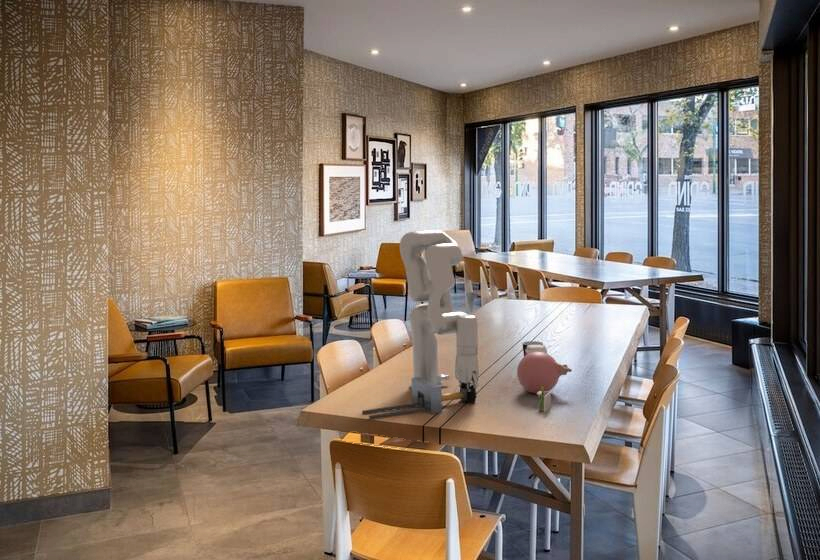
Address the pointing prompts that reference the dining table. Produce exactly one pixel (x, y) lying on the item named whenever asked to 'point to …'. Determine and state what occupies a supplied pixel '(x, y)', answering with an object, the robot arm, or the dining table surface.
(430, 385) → the housing
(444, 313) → the robot arm
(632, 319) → the dining table surface
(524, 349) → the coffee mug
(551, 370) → the pink bulb shape
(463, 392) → the hammer
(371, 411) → the guide
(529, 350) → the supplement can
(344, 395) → the dining table surface
